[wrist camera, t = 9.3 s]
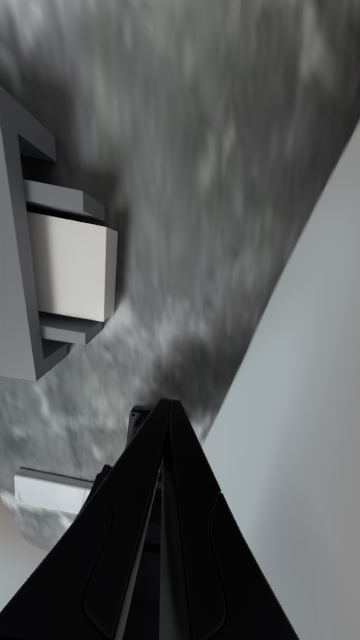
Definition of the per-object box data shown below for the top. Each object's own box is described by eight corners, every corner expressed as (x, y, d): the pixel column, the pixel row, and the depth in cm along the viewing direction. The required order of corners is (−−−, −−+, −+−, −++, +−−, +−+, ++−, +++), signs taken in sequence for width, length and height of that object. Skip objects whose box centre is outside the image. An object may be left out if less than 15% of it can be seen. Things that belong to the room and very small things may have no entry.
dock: (101, 360, 20) (79, 387, 16) (16, 346, 20) (-31, 371, 16) (106, 148, 14) (69, 96, 9) (-24, 120, 13) (-126, 53, 9)
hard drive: (15, 503, 30) (86, 518, 30) (13, 475, 27) (92, 492, 28) (23, 491, 31) (91, 505, 32) (23, 463, 28) (97, 479, 29)
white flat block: (114, 313, 18) (103, 321, 16) (18, 297, 18) (-7, 303, 16) (117, 231, 16) (106, 227, 13) (5, 209, 15) (-28, 201, 13)
